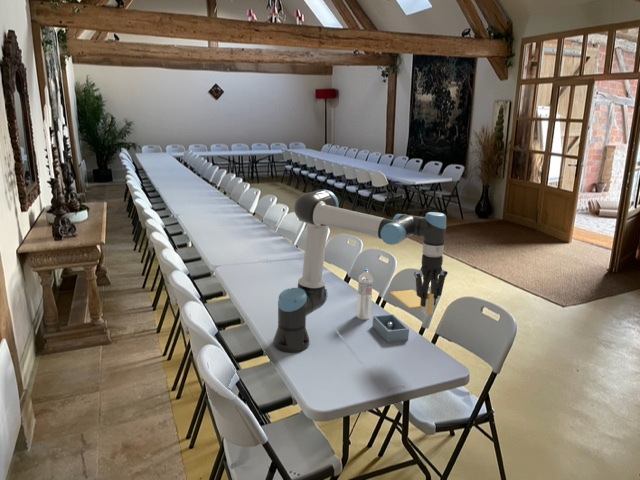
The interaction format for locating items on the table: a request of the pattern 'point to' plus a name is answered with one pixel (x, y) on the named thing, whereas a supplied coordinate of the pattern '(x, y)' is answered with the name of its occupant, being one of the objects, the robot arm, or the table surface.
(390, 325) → the part
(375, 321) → the tub
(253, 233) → the table surface
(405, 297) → the lid
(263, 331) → the table surface
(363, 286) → the water bottle
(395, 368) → the table surface
